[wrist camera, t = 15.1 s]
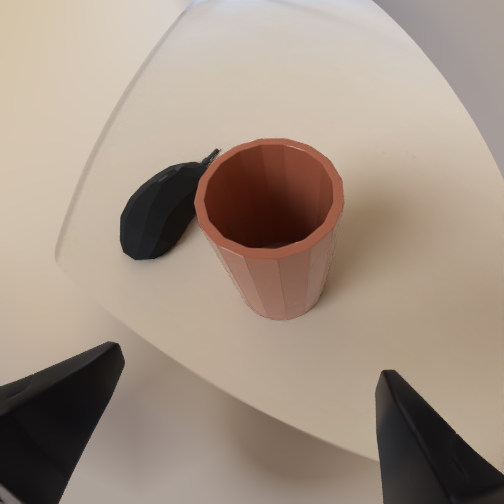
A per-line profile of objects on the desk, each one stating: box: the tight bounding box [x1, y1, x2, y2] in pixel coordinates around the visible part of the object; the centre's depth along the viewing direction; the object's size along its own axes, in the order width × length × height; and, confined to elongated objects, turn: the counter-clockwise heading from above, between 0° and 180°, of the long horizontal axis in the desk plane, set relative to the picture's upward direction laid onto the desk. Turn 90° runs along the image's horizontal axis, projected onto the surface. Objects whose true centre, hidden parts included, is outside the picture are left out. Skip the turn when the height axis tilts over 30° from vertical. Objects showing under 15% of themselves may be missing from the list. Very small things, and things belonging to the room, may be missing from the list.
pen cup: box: [194, 138, 344, 320], centre depth 19 cm, size 7×7×12 cm
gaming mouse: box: [120, 149, 219, 260], centre depth 28 cm, size 6×15×4 cm, turn 148°
